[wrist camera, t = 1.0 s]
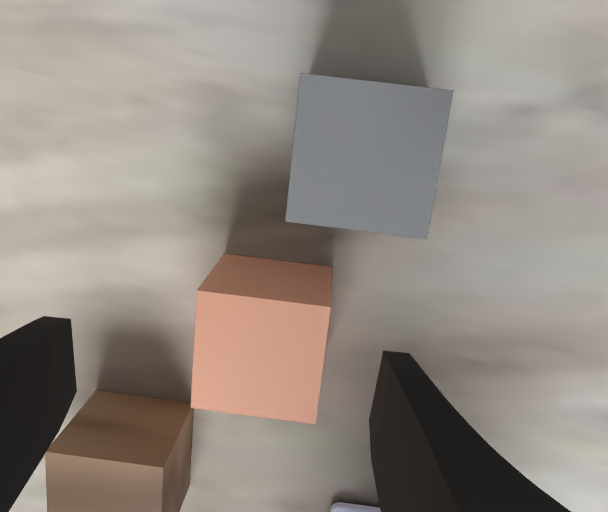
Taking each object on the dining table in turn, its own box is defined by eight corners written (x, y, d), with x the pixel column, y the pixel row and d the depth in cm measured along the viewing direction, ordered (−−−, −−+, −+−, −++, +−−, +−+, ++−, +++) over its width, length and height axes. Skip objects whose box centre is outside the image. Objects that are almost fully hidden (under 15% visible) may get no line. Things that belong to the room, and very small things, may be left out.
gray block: (408, 210, 24) (426, 238, 19) (295, 196, 24) (285, 221, 19) (428, 92, 22) (453, 90, 17) (308, 78, 22) (300, 73, 17)
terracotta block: (319, 364, 26) (315, 424, 21) (217, 351, 26) (190, 407, 21) (332, 266, 24) (331, 307, 20) (224, 253, 25) (196, 290, 20)
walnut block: (189, 484, 28) (159, 562, 24) (97, 471, 29) (48, 547, 24) (194, 402, 27) (163, 468, 22) (97, 389, 27) (45, 451, 22)
